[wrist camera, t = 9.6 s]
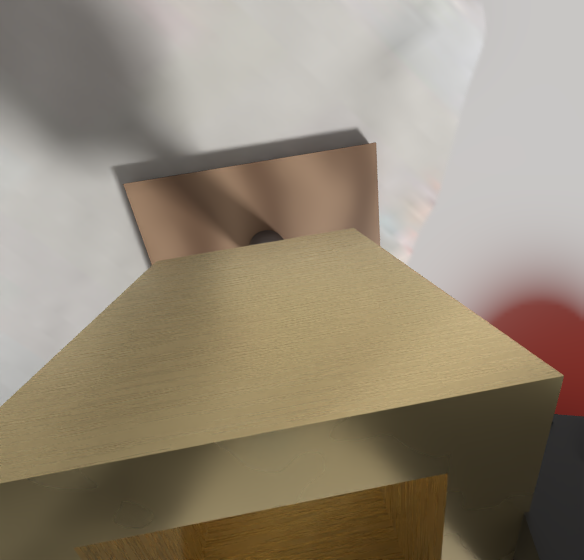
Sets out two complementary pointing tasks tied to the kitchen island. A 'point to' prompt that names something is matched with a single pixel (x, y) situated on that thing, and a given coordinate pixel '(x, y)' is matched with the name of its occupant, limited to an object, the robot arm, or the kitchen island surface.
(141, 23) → the kitchen island surface
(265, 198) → the wooden base with rod
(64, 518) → the hollow square tube
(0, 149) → the kitchen island surface
